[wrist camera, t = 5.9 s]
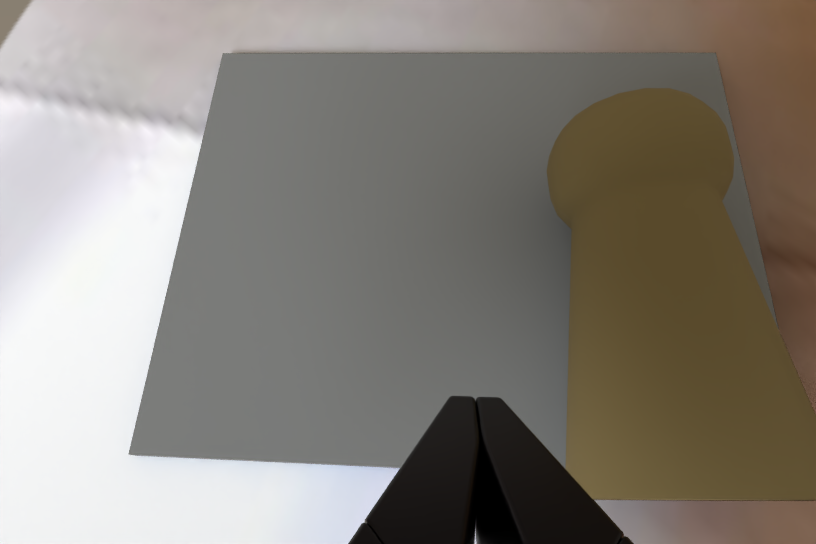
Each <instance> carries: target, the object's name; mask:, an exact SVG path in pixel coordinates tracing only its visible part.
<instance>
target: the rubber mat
mask: <svg viewBox="0 0 816 544" xmlns="http://www.w3.org/2000/svg"><path fill="white" fill-rule="evenodd" d="M643 88H671V89H674V90H678V91H682V92H685V93H689V94H691V95H693V96H694V97H696V98H698V99H700V100H701V101H703V102H704V103H705V104H707V105H708V106H709V107H710V108H712V109H713V110H714V111H715V112H717V114H718V115H719V117H720V118H721V120H722V121H723V123H724V124H725V126H726V129H727V132H728V135H729V139H730V142H731V146H732V151H733V155H734V171H733V179H732V181H731V184H730V186H729V189H728V191H727V193H726V195H725V197H724V198H723V200H722V202H723V204H724V206H725V209H726V211H727V213H728V215H729V218H730V220H731V222H732V225H733V227H734V229H735V231H736V234H737V236H738V238H739V241H740V243H741V245H742V247H743V250H744V252H745V254H746V257H747V259H748V261H749V263H750V266H751V268H752V270H753V273H754V275H755V277H756V279H757V282H758V284H759V286H760V289H761V291H762V293H763V295H764V298H765V300H766V302H767V305H768V307H769V309H770V312H771V314H772V316H773V318H774V321H775V323H776V325H777V328H778V324H777V320H776V315H775V311H774V306H773V302H772V298H771V293H770V289H769V284H768V280H767V276H766V271H765V267H764V262H763V258H762V254H761V249H760V245H759V240H758V236H757V232H756V227H755V223H754V219H753V214H752V210H751V205H750V201H749V197H748V192H747V188H746V183H745V179H744V175H743V170H742V166H741V161H740V157H739V153H738V148H737V144H736V139H735V135H734V131H733V126H732V122H731V118H730V113H729V109H728V104H727V100H726V96H725V91H724V87H723V82H722V78H721V74H720V69H719V65H718V60H717V56H716V53H223V55H222V59H221V64H220V68H219V72H218V76H217V81H216V85H215V89H214V93H213V98H212V102H211V106H210V110H209V115H208V119H207V123H206V127H205V132H204V136H203V140H202V144H201V149H200V153H199V157H198V161H197V166H196V170H195V174H194V178H193V183H192V187H191V191H190V195H189V200H188V204H187V208H186V212H185V217H184V221H183V225H182V229H181V234H180V238H179V242H178V246H177V251H176V255H175V259H174V263H173V268H172V272H171V276H170V280H169V285H168V289H167V293H166V297H165V302H164V306H163V310H162V314H161V319H160V323H159V327H158V331H157V336H156V340H155V344H154V348H153V353H152V357H151V361H150V365H149V370H148V374H147V378H146V382H145V387H144V391H143V395H142V399H141V404H140V408H139V412H138V416H137V421H136V425H135V429H134V433H133V438H132V442H131V446H130V450H129V455H137V456H158V457H179V458H200V459H221V460H243V461H264V462H285V463H306V464H327V465H349V466H370V467H391V468H401V467H402V465H403V464H404V462H405V461H406V459H407V458H408V456H409V455H410V453H411V452H412V451H413V449H414V448H415V446H416V445H417V443H418V442H419V440H420V439H421V437H422V436H423V434H424V433H425V432H426V430H427V429H428V427H429V426H430V424H431V423H432V421H433V420H434V418H435V417H436V416H437V414H438V413H439V411H440V410H441V408H442V407H443V405H444V404H445V402H446V401H447V400H448V398H449V397H450V396H471V397H473V398H474V399H475V401H476V398H477V397H499V398H501V399H503V401H504V402H505V403H506V404H507V405H508V406H509V407H510V408H511V409H512V410H513V412H514V413H515V414H516V415H517V416H518V417H519V418H520V419H521V420H522V421H523V423H524V424H525V425H526V426H527V427H528V428H529V429H530V430H531V431H532V433H533V434H534V435H535V436H536V437H537V438H538V439H539V440H540V441H541V442H542V444H543V445H544V446H545V447H546V448H547V449H548V450H549V451H550V452H551V453H552V455H553V456H554V457H555V458H556V459H557V460H558V461H559V462H560V463H561V465H562V466H563V467H564V468H565V466H566V427H567V387H568V348H569V308H570V269H571V228H570V227H568V226H567V225H566V224H565V223H564V222H563V221H562V219H561V218H560V217H559V216H558V215H557V213H556V211H555V209H554V206H553V204H552V202H551V199H550V192H549V186H548V178H547V165H548V160H549V155H550V153H551V150H552V148H553V145H554V143H555V141H556V139H557V137H558V136H559V134H560V132H561V131H562V129H563V128H564V127H565V126H566V125H567V124H568V123H569V122H570V120H571V119H572V118H573V117H574V116H575V115H577V114H578V113H580V112H581V111H583V110H584V109H586V108H587V107H589V106H591V105H592V104H594V103H596V102H598V101H601V100H603V99H606V98H608V97H611V96H613V95H616V94H618V93H623V92H628V91H633V90H638V89H643ZM778 330H779V328H778Z"/></svg>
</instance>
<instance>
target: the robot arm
mask: <svg viewBox="0 0 816 544" xmlns="http://www.w3.org/2000/svg"><path fill="white" fill-rule="evenodd" d="M475 529H476V541H477V544H633V543H632V541H631V540H630V539H629V538H628V537H626V536H624V534H623V532H622V531H621V530H620V529H619V527H618V526H617V525H616V524H615V523H614V522H613V521H612V520H611V519H610V517H609V516H608V515H607V514H606V513H605V512H604V511H603V510H602V509H601V508H600V506H599V505H598V504H597V503H596V502H595V501H594V500H593V499H592V498H591V497H590V495H589V494H588V493H587V492H586V491H585V490H584V489H583V488H582V487H581V485H580V484H579V483H578V482H577V481H576V480H575V479H574V478H573V477H572V476H571V474H570V473H569V472H568V471H567V470H566V469H565V468H564V467H563V466H562V465H561V463H560V462H559V461H558V460H557V459H556V458H555V457H554V456H553V455H552V453H551V452H550V451H549V450H548V449H547V448H546V447H545V446H544V445H543V444H542V442H541V441H540V440H539V439H538V438H537V437H536V436H535V435H534V434H533V433H532V431H531V430H530V429H529V428H528V427H527V426H526V425H525V424H524V423H523V421H522V420H521V419H520V418H519V417H518V416H517V415H516V414H515V413H514V412H513V410H512V409H511V408H510V407H509V406H508V405H507V404H506V403H505V402H504V401H503V399H501V398H499V397H477V398H476V401H475V399H474V398H473V397H471V396H450V397H449V398H448V400H447V401H446V402H445V404H444V405H443V407H442V408H441V410H440V411H439V413H438V414H437V416H436V417H435V418H434V420H433V421H432V423H431V424H430V426H429V427H428V429H427V430H426V432H425V433H424V434H423V436H422V437H421V439H420V440H419V442H418V443H417V445H416V446H415V448H414V449H413V451H412V452H411V453H410V455H409V456H408V458H407V459H406V461H405V462H404V464H403V465H402V467H401V468H400V469H399V471H398V472H397V474H396V475H395V477H394V478H393V480H392V481H391V483H390V484H389V485H388V487H387V488H386V490H385V491H384V493H383V494H382V496H381V497H380V499H379V500H378V502H377V503H376V504H375V506H374V507H373V509H372V510H371V512H370V513H369V515H368V516H367V518H366V519H365V523H362V524H361V526H360V527H359V529H358V530H357V532H356V533H355V535H354V536H353V538H352V539H351V540H350V542H349V543H348V544H474V540H475Z"/></svg>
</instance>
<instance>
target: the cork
mask: <svg viewBox="0 0 816 544" xmlns="http://www.w3.org/2000/svg"><path fill="white" fill-rule="evenodd" d="M733 171H734V155H733V151H732V146H731V142H730V139H729V135H728V132H727V129H726V126H725V124H724V123H723V121H722V120H721V118H720V117H719V115H718V114H717V112H715V111H714V110H713V109H712V108H710V107H709V106H708V105H707V104H705V103H704V102H703V101H701V100H700V99H698V98H696V97H694V96H693V95H691V94H689V93H685V92H682V91H678V90H674V89H671V88H643V89H638V90H633V91H628V92H623V93H618V94H616V95H613V96H611V97H608V98H606V99H603V100H601V101H598V102H596V103H594V104H592V105H591V106H589V107H587V108H586V109H584V110H583V111H581V112H580V113H578V114H577V115H575V116H574V117H573V118H572V119H571V120H570V122H569V123H568V124H567V125H566V126H565V127H564V128H563V129H562V131H561V132H560V134H559V136H558V137H557V139H556V141H555V143H554V145H553V148H552V150H551V153H550V155H549V160H548V165H547V178H548V186H549V192H550V199H551V202H552V204H553V206H554V209H555V211H556V213H557V215H558V216H559V217H560V218H561V219H562V221H563V222H564V223H565V224H566V225H567V226H568V227H570V228H571V269H570V308H569V348H568V387H567V427H566V466H565V469H566V470H567V471H568V472H569V473H570V474H571V476H572V477H573V478H574V479H575V480H576V481H577V482H578V483H579V484H580V485H581V487H582V488H583V489H584V490H585V491H586V492H587V493H588V494H589V495H590V497H591V498H592V499H593V500H695V501H816V414H815V412H814V410H813V408H812V405H811V403H810V401H809V398H808V396H807V394H806V392H805V389H804V387H803V385H802V382H801V380H800V378H799V376H798V373H797V371H796V369H795V366H794V364H793V362H792V360H791V357H790V355H789V353H788V350H787V348H786V346H785V344H784V341H783V339H782V337H781V334H780V332H779V330H778V328H777V325H776V323H775V321H774V318H773V316H772V314H771V312H770V309H769V307H768V305H767V302H766V300H765V298H764V295H763V293H762V291H761V289H760V286H759V284H758V282H757V279H756V277H755V275H754V273H753V270H752V268H751V266H750V263H749V261H748V259H747V257H746V254H745V252H744V250H743V247H742V245H741V243H740V241H739V238H738V236H737V234H736V231H735V229H734V227H733V225H732V222H731V220H730V218H729V215H728V213H727V211H726V209H725V206H724V204H723V202H722V200H723V198H724V197H725V195H726V193H727V191H728V189H729V186H730V184H731V181H732V179H733Z"/></svg>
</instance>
